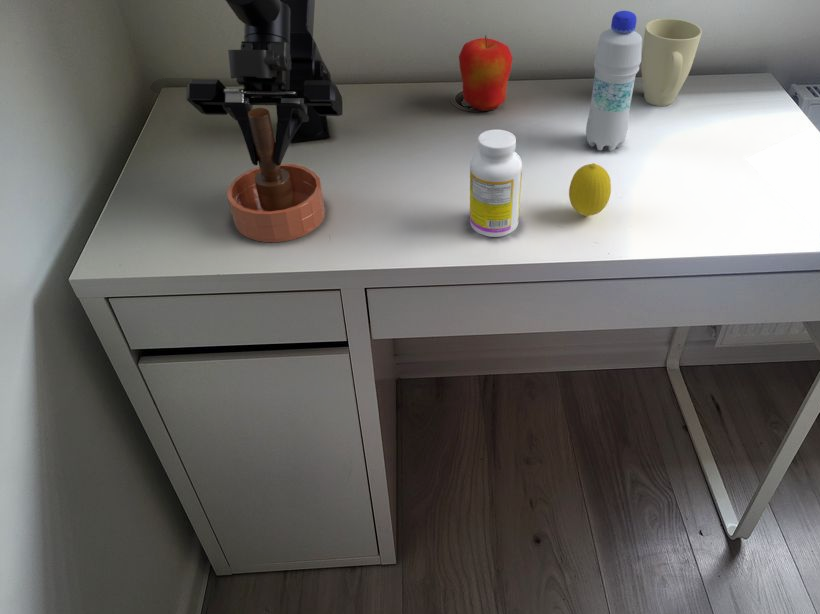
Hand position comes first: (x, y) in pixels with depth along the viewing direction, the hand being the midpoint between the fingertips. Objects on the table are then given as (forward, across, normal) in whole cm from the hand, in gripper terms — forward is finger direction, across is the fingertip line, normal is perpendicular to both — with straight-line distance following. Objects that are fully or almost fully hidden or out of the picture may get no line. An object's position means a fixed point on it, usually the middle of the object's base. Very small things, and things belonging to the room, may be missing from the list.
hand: (266, 164), depth 91 cm
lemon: (+5, +42, +7) cm, 43 cm away
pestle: (+4, 0, +6) cm, 7 cm away
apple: (-18, +29, +30) cm, 45 cm away
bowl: (+5, 0, +6) cm, 8 cm away
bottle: (-9, +48, +21) cm, 53 cm away
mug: (-19, +59, +31) cm, 70 cm away
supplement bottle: (+7, +30, +5) cm, 31 cm away
